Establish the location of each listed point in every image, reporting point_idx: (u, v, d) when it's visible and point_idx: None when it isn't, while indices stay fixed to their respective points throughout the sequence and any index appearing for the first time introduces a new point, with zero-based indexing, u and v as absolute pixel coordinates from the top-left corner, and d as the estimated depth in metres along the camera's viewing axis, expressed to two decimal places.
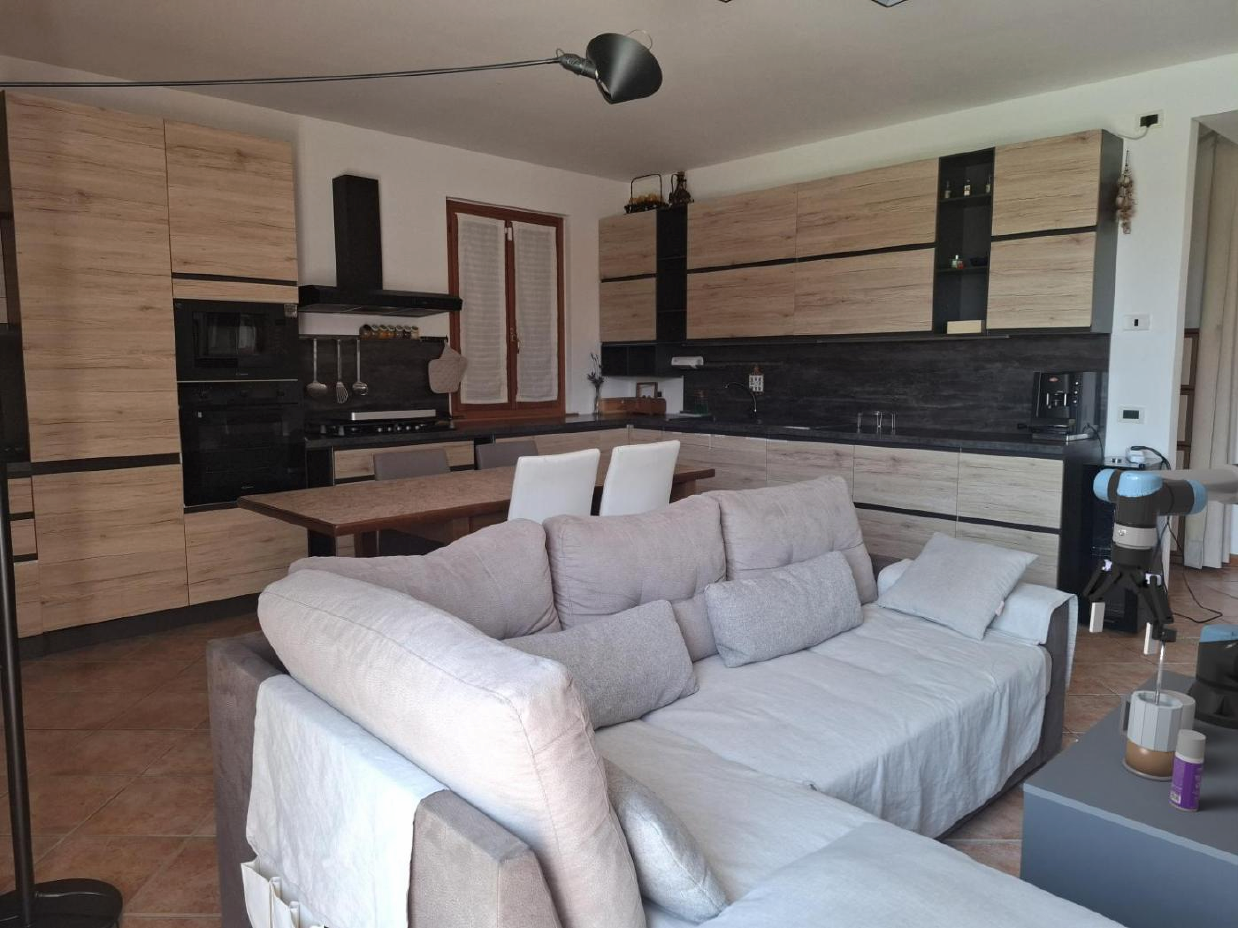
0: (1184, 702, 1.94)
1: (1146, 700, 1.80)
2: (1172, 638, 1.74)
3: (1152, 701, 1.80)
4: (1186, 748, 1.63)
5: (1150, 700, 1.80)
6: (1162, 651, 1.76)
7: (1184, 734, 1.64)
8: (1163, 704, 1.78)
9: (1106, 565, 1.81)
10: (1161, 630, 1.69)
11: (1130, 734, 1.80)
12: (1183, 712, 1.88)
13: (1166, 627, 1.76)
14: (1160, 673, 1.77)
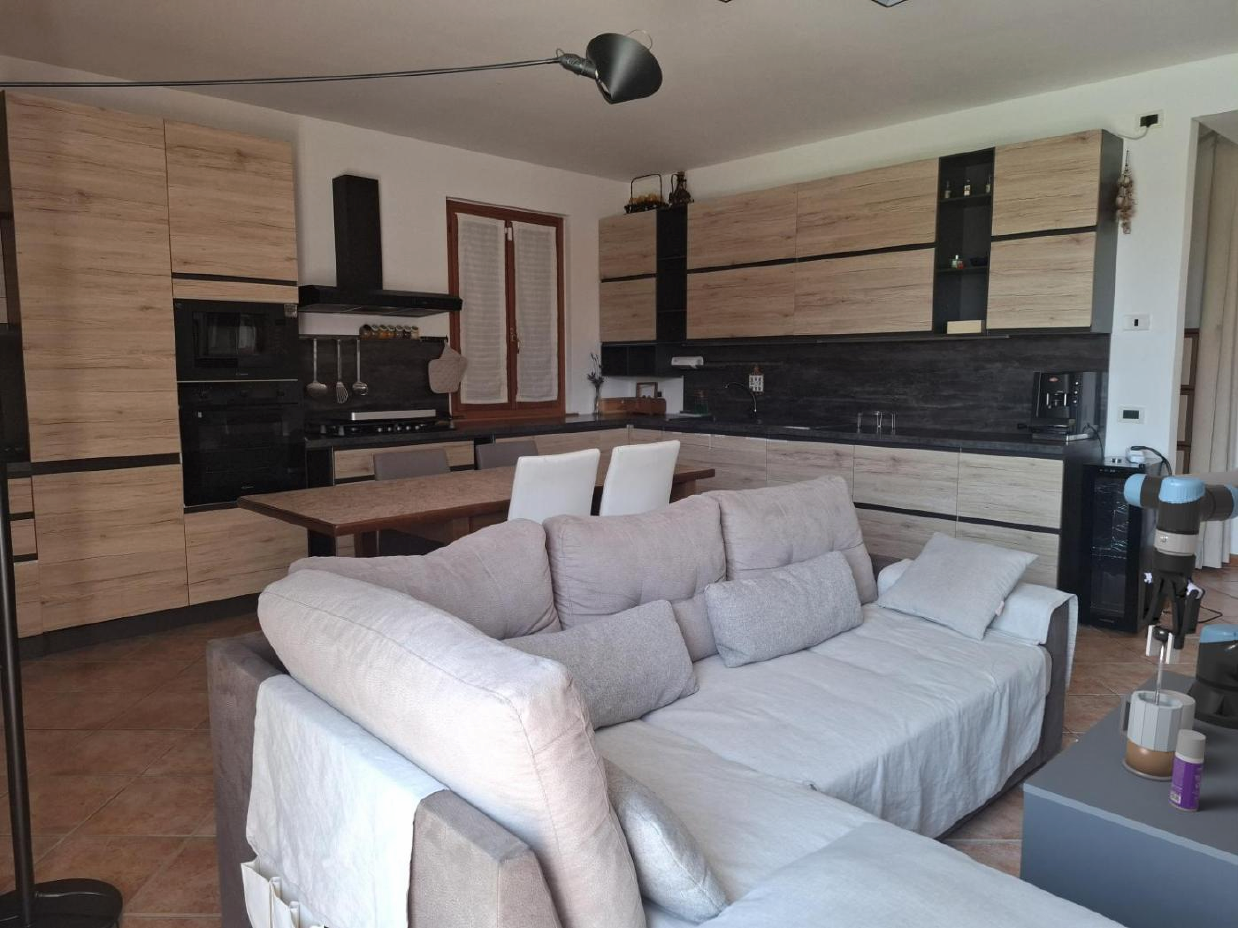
0: (1184, 702, 1.94)
1: (1146, 700, 1.80)
2: None
3: (1152, 701, 1.80)
4: (1186, 748, 1.63)
5: (1150, 700, 1.80)
6: (1162, 651, 1.76)
7: (1184, 734, 1.64)
8: (1163, 704, 1.78)
9: (1147, 577, 1.79)
10: (1183, 640, 1.73)
11: (1130, 734, 1.80)
12: (1183, 712, 1.88)
13: (1166, 627, 1.76)
14: (1160, 673, 1.77)
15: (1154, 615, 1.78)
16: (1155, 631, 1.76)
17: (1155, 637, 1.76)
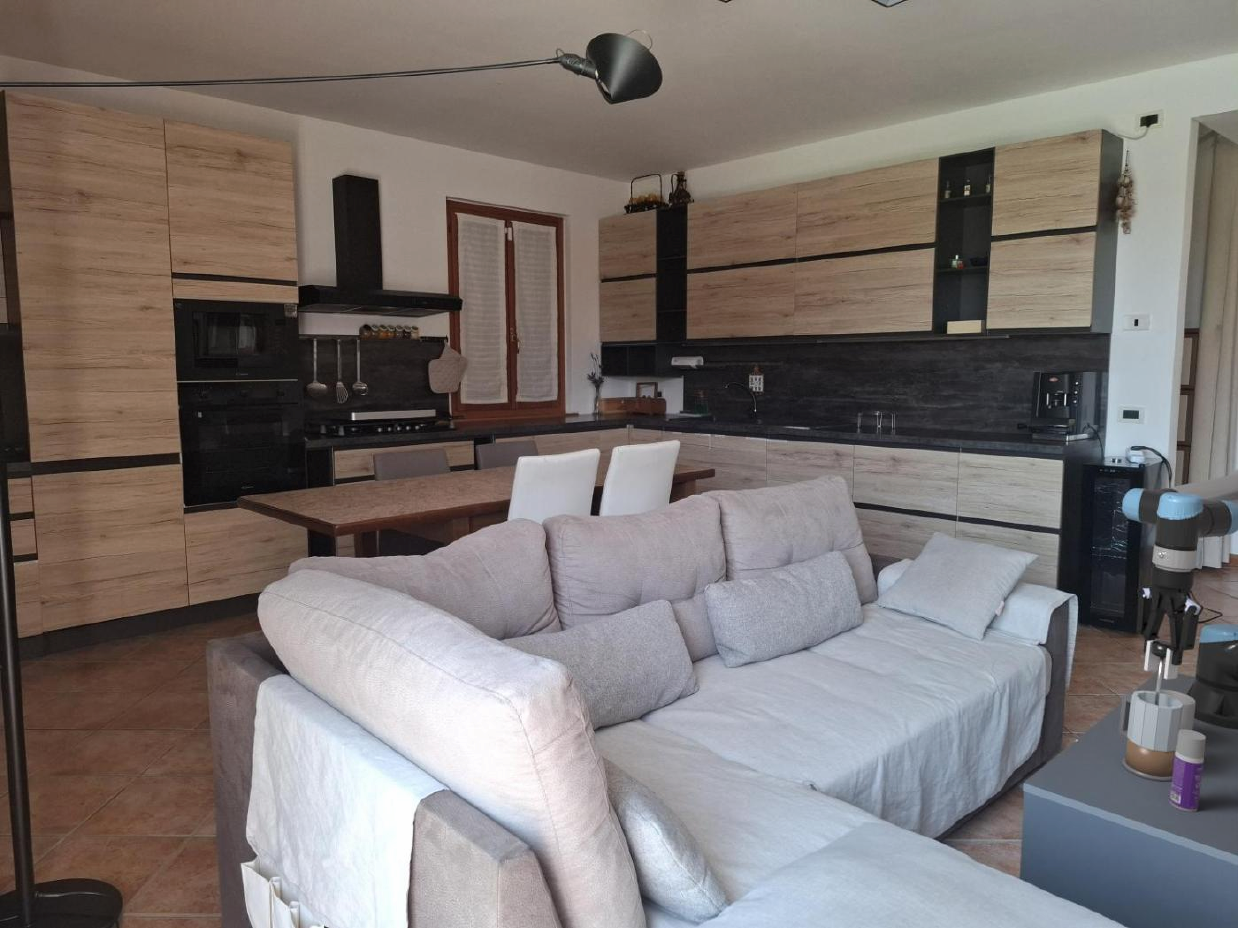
0: (1184, 702, 1.94)
1: None
2: None
3: None
4: (1186, 748, 1.63)
5: None
6: (1160, 666, 1.77)
7: (1184, 734, 1.64)
8: None
9: (1145, 592, 1.80)
10: (1181, 656, 1.73)
11: (1130, 734, 1.80)
12: (1183, 712, 1.88)
13: (1164, 642, 1.77)
14: (1158, 688, 1.77)
15: (1152, 630, 1.78)
16: (1153, 646, 1.77)
17: (1153, 652, 1.77)
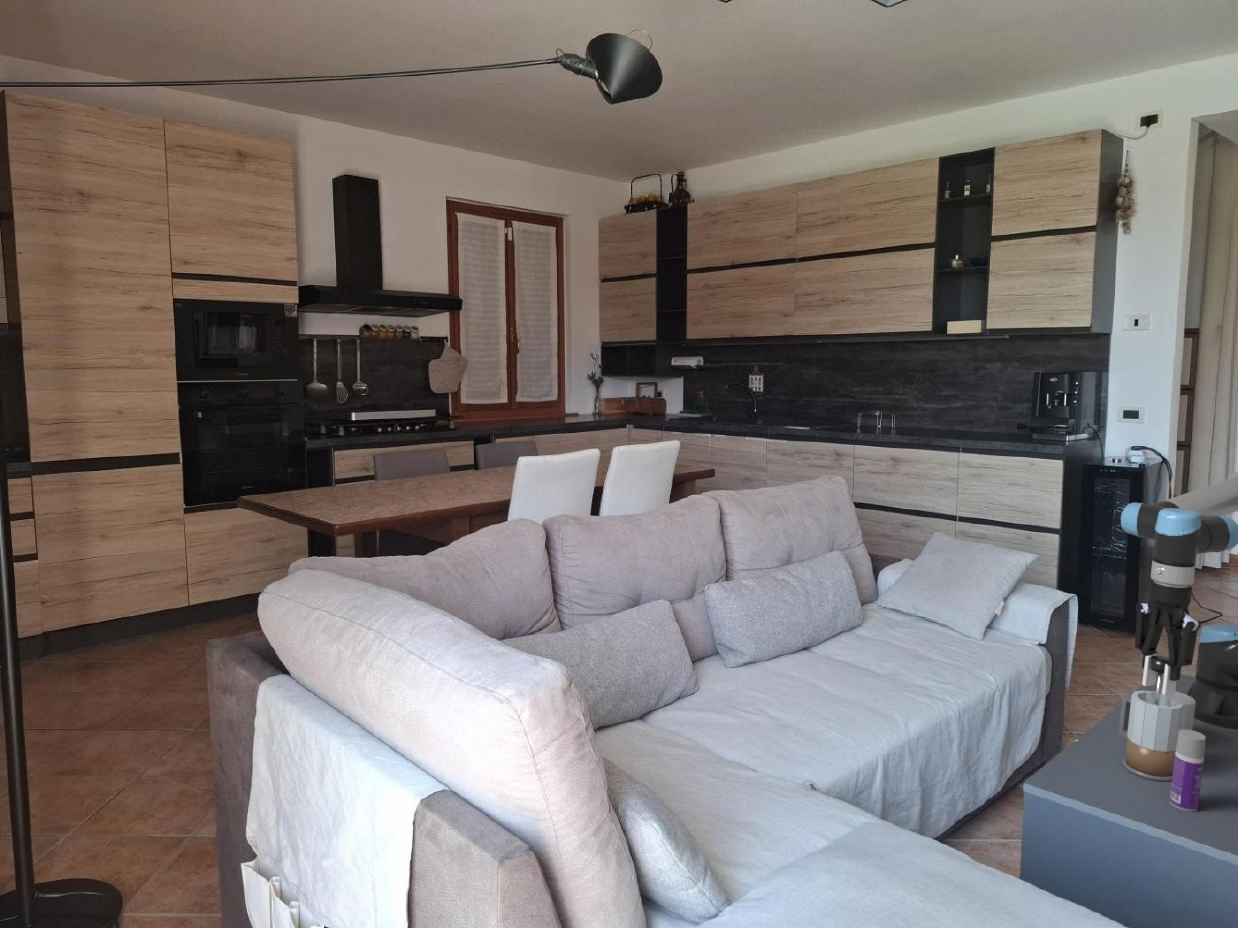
0: (1184, 702, 1.94)
1: None
2: None
3: None
4: (1186, 748, 1.63)
5: None
6: (1158, 681, 1.77)
7: (1184, 734, 1.64)
8: None
9: (1144, 607, 1.80)
10: (1179, 672, 1.73)
11: (1130, 734, 1.80)
12: (1183, 712, 1.88)
13: (1162, 658, 1.77)
14: (1156, 703, 1.78)
15: (1150, 645, 1.79)
16: (1151, 662, 1.77)
17: (1151, 668, 1.77)
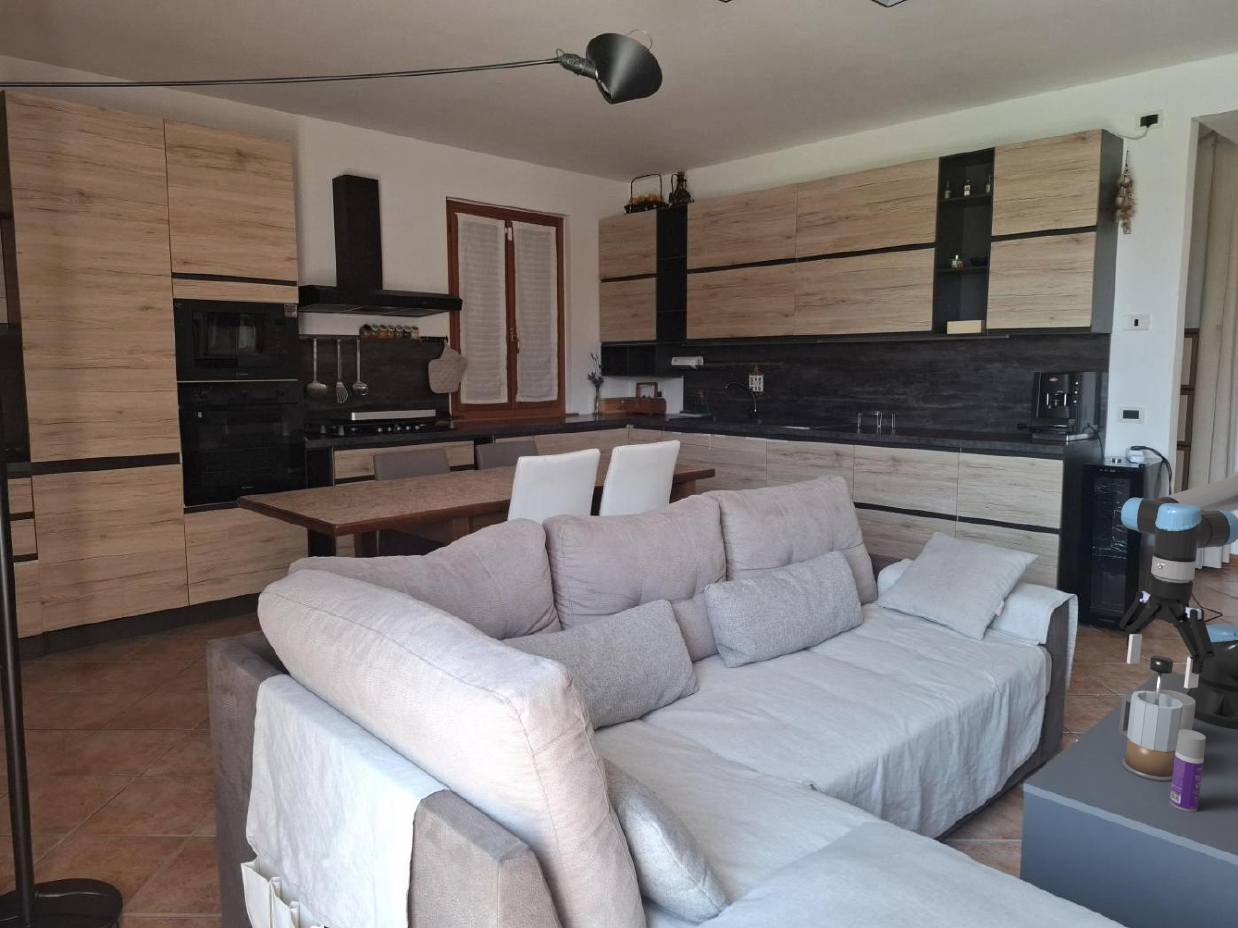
0: (1184, 702, 1.94)
1: None
2: (1168, 669, 1.75)
3: None
4: (1186, 748, 1.63)
5: None
6: (1158, 682, 1.77)
7: (1184, 734, 1.64)
8: None
9: (1144, 597, 1.80)
10: (1201, 665, 1.69)
11: (1130, 734, 1.80)
12: (1183, 712, 1.88)
13: (1162, 658, 1.77)
14: (1156, 703, 1.78)
15: (1137, 628, 1.82)
16: (1151, 662, 1.77)
17: (1151, 668, 1.77)
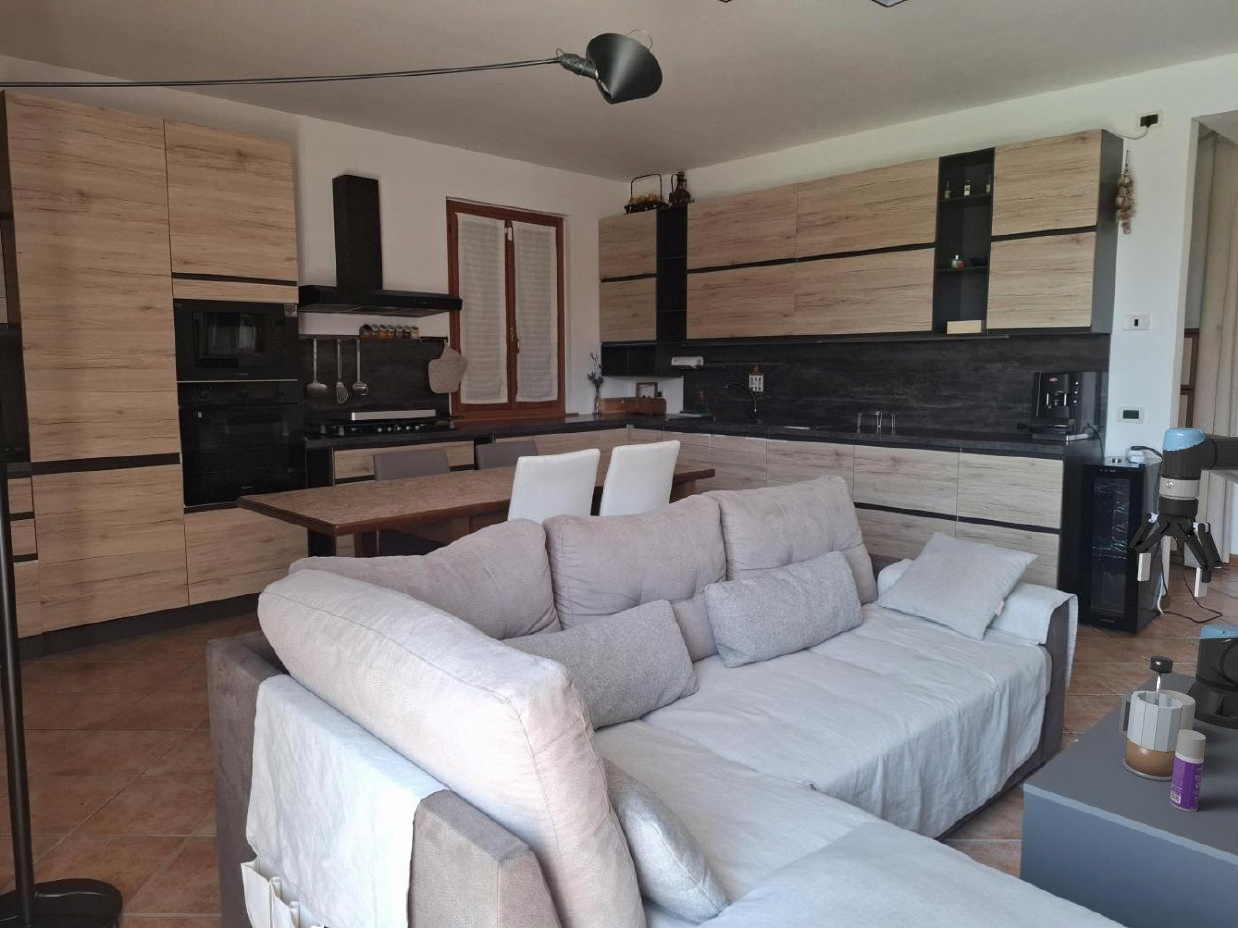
0: (1184, 702, 1.94)
1: None
2: (1168, 669, 1.75)
3: None
4: (1186, 748, 1.63)
5: None
6: (1158, 682, 1.77)
7: (1184, 734, 1.64)
8: None
9: (1152, 517, 1.94)
10: (1210, 574, 1.83)
11: (1130, 734, 1.80)
12: (1183, 712, 1.88)
13: (1162, 658, 1.77)
14: (1156, 703, 1.78)
15: (1146, 547, 1.95)
16: (1151, 662, 1.77)
17: (1151, 668, 1.77)
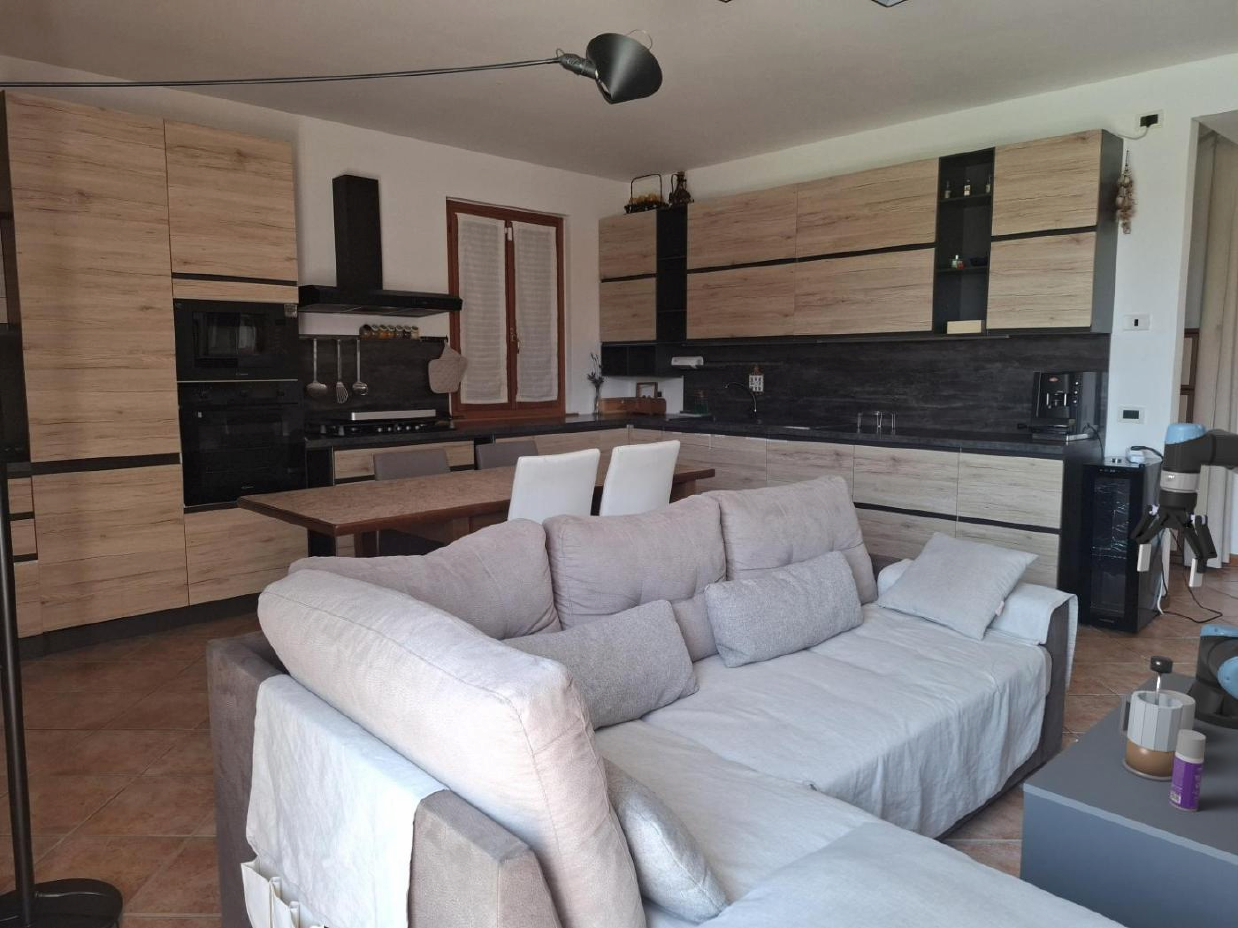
0: (1184, 702, 1.94)
1: None
2: (1168, 669, 1.75)
3: None
4: (1186, 748, 1.63)
5: None
6: (1158, 682, 1.77)
7: (1184, 734, 1.64)
8: None
9: (1153, 509, 2.00)
10: (1205, 565, 1.88)
11: (1130, 734, 1.80)
12: (1183, 712, 1.88)
13: (1162, 658, 1.77)
14: (1156, 703, 1.78)
15: (1146, 538, 2.01)
16: (1151, 662, 1.77)
17: (1151, 668, 1.77)
